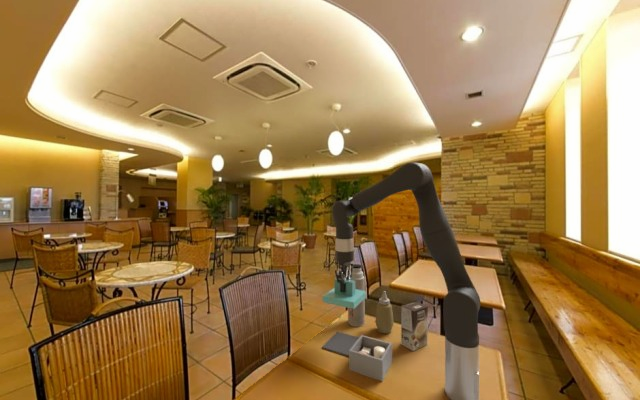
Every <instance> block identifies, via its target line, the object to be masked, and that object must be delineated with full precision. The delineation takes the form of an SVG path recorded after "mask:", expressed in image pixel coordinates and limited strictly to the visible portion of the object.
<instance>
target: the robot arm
mask: <svg viewBox="0 0 640 400" xmlns="http://www.w3.org/2000/svg"><path fill="white" fill-rule="evenodd" d="M405 191H411V192H412V194H413V196H414V199H415V201H416V204H417V209H418V219H419V220H418V221H419V222H418V223H419V230H420V231H419V232H420V234H421V237H422V239H423V242H424V244H425V247H426V249H427V251H428V253H429V255H430V257H431V258H432V260H433V261H434V263H435V264H436V266H438V268H439V269H440V271H441V274H442V276H443V279H444V282H445V285H446V289H447V293H446V294H445V296H444V299H443V303H442V304H443V305H442V312H443V315H442V316H443V317H442V318H443V330H444V334H445V335H444V336H445V341H444V342H445V346H444V348H445V349H444V353H445V354H444V355H445V356H444V391H445V395H446V396H447V398H449V399H450V400H480V335H479V320H478V319H479V312H480V311H479V310H480V308H481V303H482V302H481V298H480V295H479V293H478V291H477V289H476V287H475V285H474V283H473V281H472V279H471V277H470V276H469V273H468V272H467V269H466V267H465V264H464V261H463V258H462V255H461V251H460V248H459V245H458V244H457V243H458V242H457V238H456V237H455V234H454V231H453V229H452V227H451V226H452V225H450V222H449V220H448V217H447V215H446V213H445V210H444V207H443V206H442V203H441V201H440V198H439V196H438V192H437V189H436V185H435V181H434V177H433V174H432V171H431V169H430V168H429V167H428V165H426V164H424V163H420V162H414V161H413V162H412V161H411V162H407V163H405V164H403V165H402V166H401V167H399V168H398V169H397V168H396V170H395V171H394V172H392V173H391V174H389V175H388V176H386V177H385V178H384V179H382V180H381V181H379V182H377V183H375V184H373V185H370V186H369V187H367V188H364V189H362V190H361V191H359V192H356V193H355V194H354V195H352V197H351V198H350V199H347V200H337V201H335V202H334V203H333V205H332V209H331V211H332V212H331V214H332V217H333V218H332V219H333V222H334V226H335V247H334V248H335V251H334V252H335V253H334V254H335V261H336V262H338V267H337V269H335V271H334V273H335V279H337V282H338V283H340V292H343V293H345V292H346V279H348V280H350V278H352V272H353V266H354V263H351V262H354V260H355V245H354V244H355V242H354V227H353V224H351V223H349V222H348V218H352V217H354V216H356V215H358V214H359V213H361V212H362V211H365V210H367V209H369V208H371V207H374V206H375V205H378V204H379V203H381V202H382V201H384V200H385V199H386V198H388V197H390V196H392V195H395V194H398V193H401V192H405Z"/></svg>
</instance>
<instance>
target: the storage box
mask: <svg viewBox="0 0 640 400" xmlns="http://www.w3.org/2000/svg"><path fill="white" fill-rule="evenodd" d="M358 337H359V339H358V340H357V341H356V342H355V344H354V345H353V346H352V348H351V349H350V350H349V357H348V358H349V359H348V361H349V362H348V370H349V371H351V372H353V373H356V374H360V375H362V376H366V377H368V378H371V379H374V380H377V381H381V382H383V381H384V379H385V377H386V375H387V373H388V371H389V369H390V367H391V365H392V362H393V342H389V341H385V340H382V339H378V338H374V337H370V336H367V335H364V334H361V335H360V336H358Z"/></svg>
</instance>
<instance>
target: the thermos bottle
mask: <svg viewBox="0 0 640 400" xmlns="http://www.w3.org/2000/svg"><path fill="white" fill-rule="evenodd" d="M353 264H354V263H353ZM365 278H366V277H365V276H364V272H363V271H362V265H361V264H359V263H358V264H357V263H356V264H354V266H353V272H352V278H350V280H354V281H355V289H357V290H363V291H366V290H365V289H366V288H365V287H366V280H365ZM365 302H366V298H365V299H364V300H363V301H362V302H361V303H360V304H359V305H358V306H356V307H355V308H354V309H351V308H347V313H348V315H347V321H348V322H347V323H348V325H350V326H351V327H362V326H364V325H365V323H366V310H365V306H366V305H365V304H366V303H365Z"/></svg>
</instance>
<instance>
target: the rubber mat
mask: <svg viewBox="0 0 640 400" xmlns="http://www.w3.org/2000/svg"><path fill="white" fill-rule="evenodd" d="M359 337H360V336H356V335H352V334H347V333H345V332H342V331H336V332H335V333H334V334H332V336H331V337H330V338H329V339H328V340H327V341H326V342H325V343H324V344H323V345H322V346H321V349H322V350H327V351H328V352H333V353H335V354H338V355H341V356H345V357H347V358H349V350H350V349H351V348H352V346H353V345H354V344H355V342H356V341H357V340H358V339H359Z"/></svg>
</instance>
